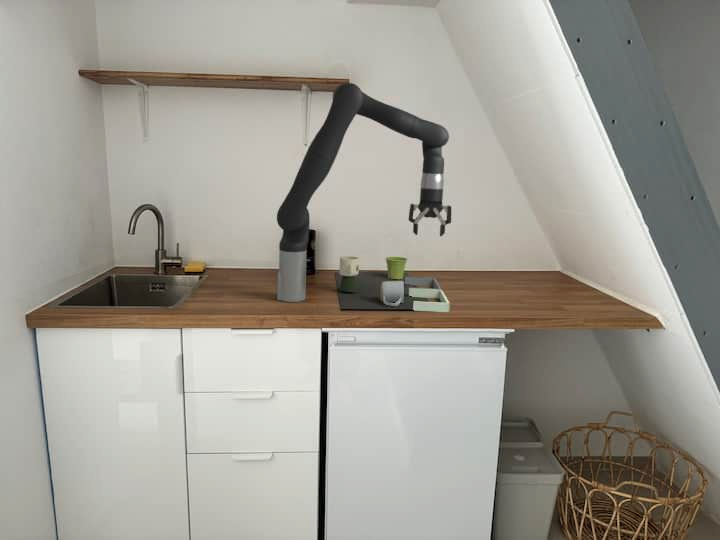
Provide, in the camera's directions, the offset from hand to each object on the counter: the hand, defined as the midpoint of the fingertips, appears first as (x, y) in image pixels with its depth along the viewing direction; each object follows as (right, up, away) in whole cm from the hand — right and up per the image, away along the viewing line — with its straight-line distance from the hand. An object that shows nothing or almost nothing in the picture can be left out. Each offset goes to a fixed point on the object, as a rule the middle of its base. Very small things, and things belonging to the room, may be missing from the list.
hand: (428, 235), depth 180 cm
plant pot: (-9, -16, +44) cm, 47 cm away
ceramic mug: (-12, -24, +4) cm, 27 cm away
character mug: (-28, -20, +17) cm, 38 cm away
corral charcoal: (0, -20, +24) cm, 31 cm away
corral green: (0, -24, +5) cm, 24 cm away
